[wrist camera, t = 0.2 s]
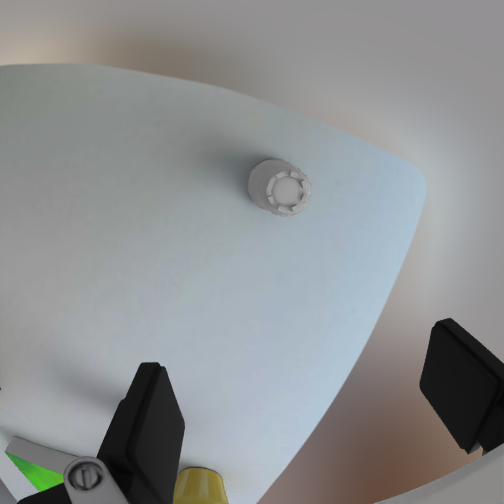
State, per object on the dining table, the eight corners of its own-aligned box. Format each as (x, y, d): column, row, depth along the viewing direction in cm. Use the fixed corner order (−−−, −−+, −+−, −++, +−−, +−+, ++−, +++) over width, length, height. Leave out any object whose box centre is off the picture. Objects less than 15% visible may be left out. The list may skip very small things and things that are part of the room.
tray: (14, 435, 35) (4, 451, 30) (118, 465, 36) (111, 488, 31) (65, 497, 42) (60, 511, 37) (157, 520, 43) (155, 536, 38)
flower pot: (228, 494, 38) (228, 539, 29) (168, 484, 37) (160, 529, 28) (240, 466, 35) (241, 520, 26) (169, 455, 35) (159, 508, 25)
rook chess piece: (308, 176, 25) (337, 180, 17) (282, 220, 26) (299, 241, 18) (264, 149, 24) (274, 140, 17) (237, 194, 25) (236, 205, 18)
